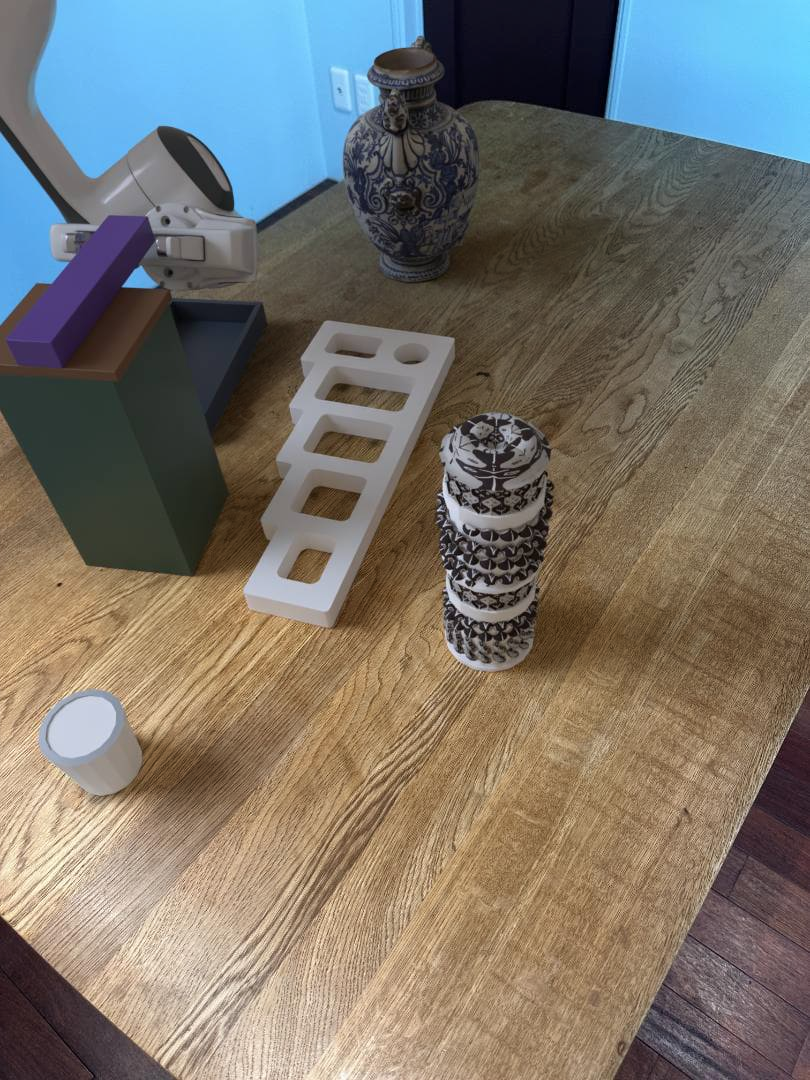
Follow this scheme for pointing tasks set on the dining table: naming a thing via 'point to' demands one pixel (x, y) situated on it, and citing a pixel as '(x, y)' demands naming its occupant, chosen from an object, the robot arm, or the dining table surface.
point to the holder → (343, 461)
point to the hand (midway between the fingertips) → (115, 244)
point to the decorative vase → (411, 167)
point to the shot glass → (91, 742)
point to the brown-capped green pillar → (119, 437)
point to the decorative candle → (493, 537)
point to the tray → (217, 347)
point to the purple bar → (81, 293)
